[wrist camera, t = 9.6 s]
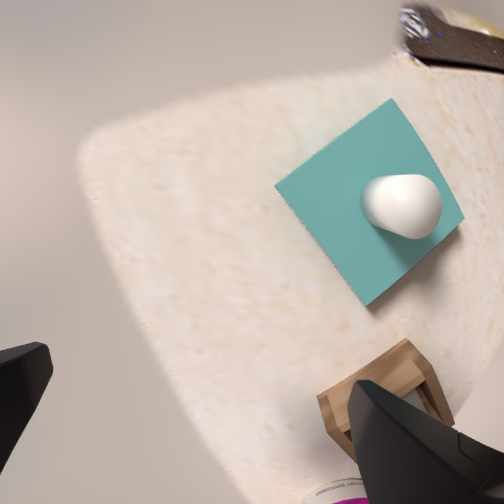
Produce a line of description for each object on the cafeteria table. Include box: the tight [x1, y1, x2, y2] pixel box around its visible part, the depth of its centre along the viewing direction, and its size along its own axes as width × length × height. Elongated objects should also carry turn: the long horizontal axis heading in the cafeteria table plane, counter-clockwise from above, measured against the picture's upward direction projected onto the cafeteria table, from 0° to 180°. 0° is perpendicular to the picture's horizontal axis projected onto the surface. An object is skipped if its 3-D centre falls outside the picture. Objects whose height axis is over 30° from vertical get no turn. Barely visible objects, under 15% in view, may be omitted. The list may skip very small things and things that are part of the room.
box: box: [317, 338, 455, 463], centre depth 20 cm, size 8×8×4 cm
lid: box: [274, 98, 464, 306], centre depth 16 cm, size 9×9×6 cm
